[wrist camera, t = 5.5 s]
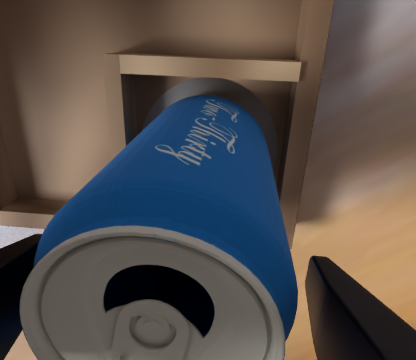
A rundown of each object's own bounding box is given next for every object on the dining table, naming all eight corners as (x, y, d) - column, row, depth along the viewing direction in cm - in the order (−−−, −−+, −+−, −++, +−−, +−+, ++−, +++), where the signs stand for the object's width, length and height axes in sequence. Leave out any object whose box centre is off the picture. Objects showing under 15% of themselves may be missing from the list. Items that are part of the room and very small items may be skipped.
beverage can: (283, 110, 16) (367, 267, 5) (247, 215, 19) (252, 459, 8) (160, 77, 16) (-12, 167, 5) (142, 187, 19) (4, 395, 8)
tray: (13, 204, 21) (-17, 226, 19) (-48, -48, 15) (-104, -65, 13) (285, 225, 20) (292, 251, 17) (326, -39, 14) (346, -57, 12)
